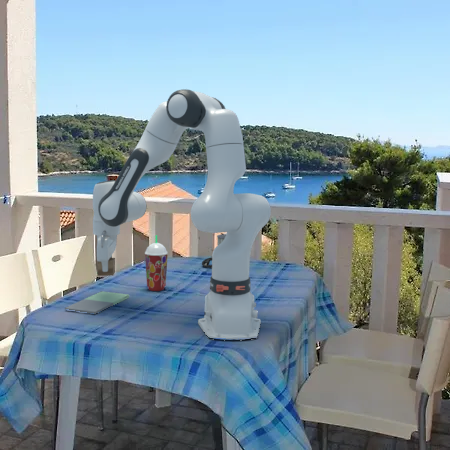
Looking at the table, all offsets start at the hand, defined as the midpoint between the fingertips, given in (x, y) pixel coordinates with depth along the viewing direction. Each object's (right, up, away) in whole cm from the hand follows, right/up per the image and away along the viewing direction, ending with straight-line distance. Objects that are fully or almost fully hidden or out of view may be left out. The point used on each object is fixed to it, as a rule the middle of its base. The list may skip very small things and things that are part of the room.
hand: (106, 269), depth 194 cm
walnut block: (0, -2, 0) cm, 2 cm away
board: (-2, -11, -4) cm, 12 cm away
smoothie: (+15, -9, +16) cm, 24 cm away
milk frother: (+38, -4, +51) cm, 64 cm away
